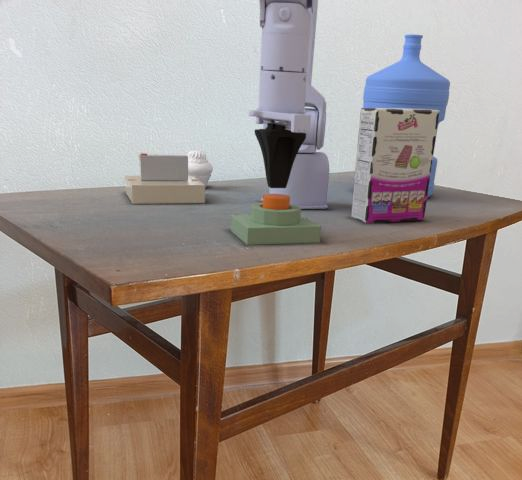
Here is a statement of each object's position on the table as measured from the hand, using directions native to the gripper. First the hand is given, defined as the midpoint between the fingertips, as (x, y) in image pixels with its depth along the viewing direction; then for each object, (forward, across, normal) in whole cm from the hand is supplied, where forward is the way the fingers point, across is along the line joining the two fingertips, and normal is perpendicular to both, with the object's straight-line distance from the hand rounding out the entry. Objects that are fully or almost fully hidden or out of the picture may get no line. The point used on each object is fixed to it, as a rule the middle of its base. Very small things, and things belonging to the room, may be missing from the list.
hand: (276, 187), depth 77 cm
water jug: (+7, -32, +36) cm, 49 cm away
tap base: (+6, -29, -10) cm, 31 cm away
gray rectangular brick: (+3, -29, -10) cm, 31 cm away
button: (+3, 0, 0) cm, 3 cm away
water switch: (+6, 0, 0) cm, 6 cm away
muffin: (+7, -40, -2) cm, 41 cm away
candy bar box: (+7, -9, +22) cm, 25 cm away
